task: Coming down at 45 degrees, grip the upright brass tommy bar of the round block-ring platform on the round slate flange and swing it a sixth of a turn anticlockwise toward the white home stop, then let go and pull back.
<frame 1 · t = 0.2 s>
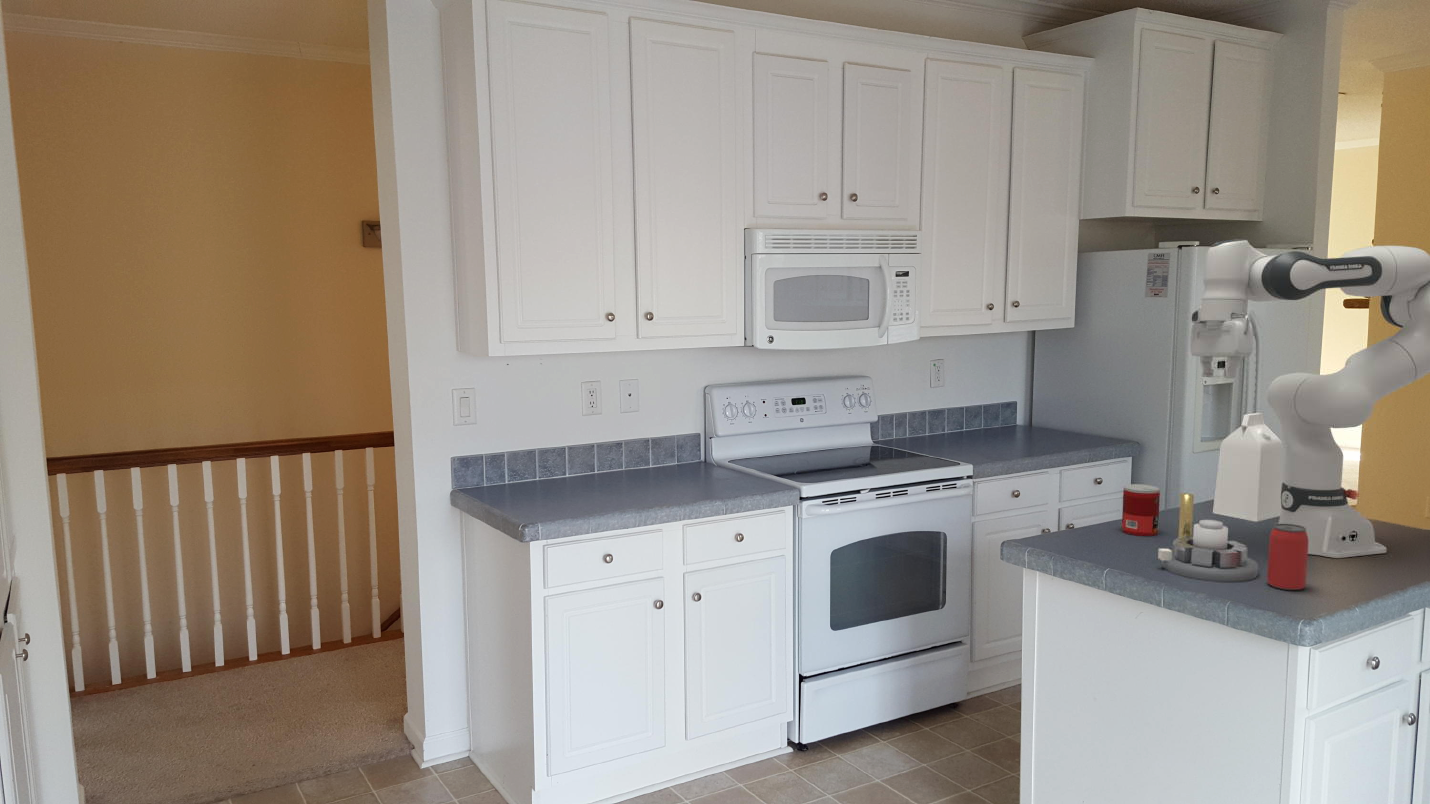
hand: (1218, 377, 218), 39 cm above the countertop, tool pointing down, fingers open, 8 cm apart
milk: (1247, 514, 258), on the countertop
flange base: (1208, 569, 209), on the countertop
round block-ring platform: (1205, 528, 210), point 8 cm above the countertop, hinge at 0.0°
beer can: (1286, 587, 197), on the countertop
canned food: (1139, 533, 240), on the countertop
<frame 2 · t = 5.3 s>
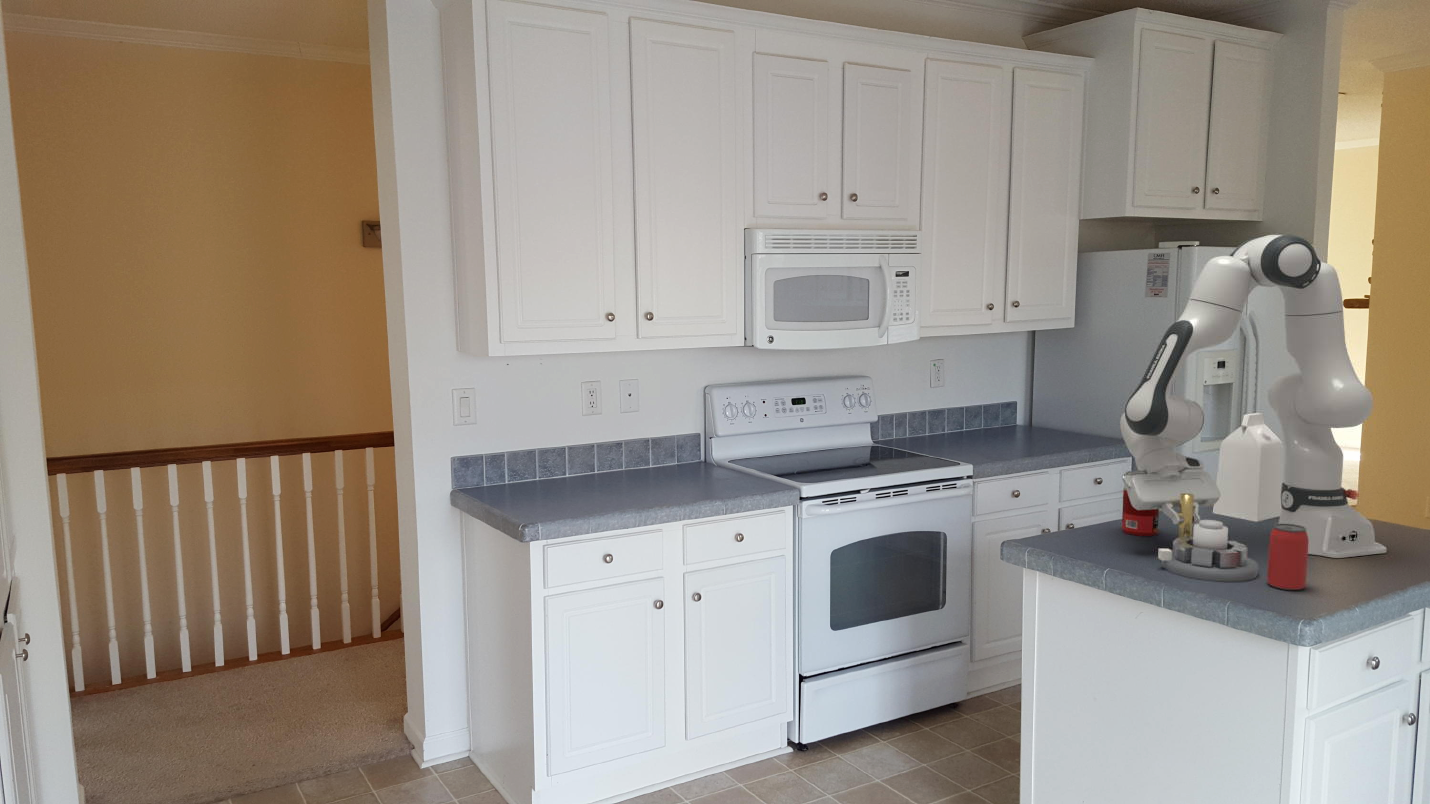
hand: (1187, 522, 217), 8 cm above the countertop, tool tilted 45°, fingers closed on round block-ring platform, 3 cm apart
round block-ring platform: (1205, 528, 210), point 8 cm above the countertop, hinge at 0.0°, touching gripper
everything else where it was.
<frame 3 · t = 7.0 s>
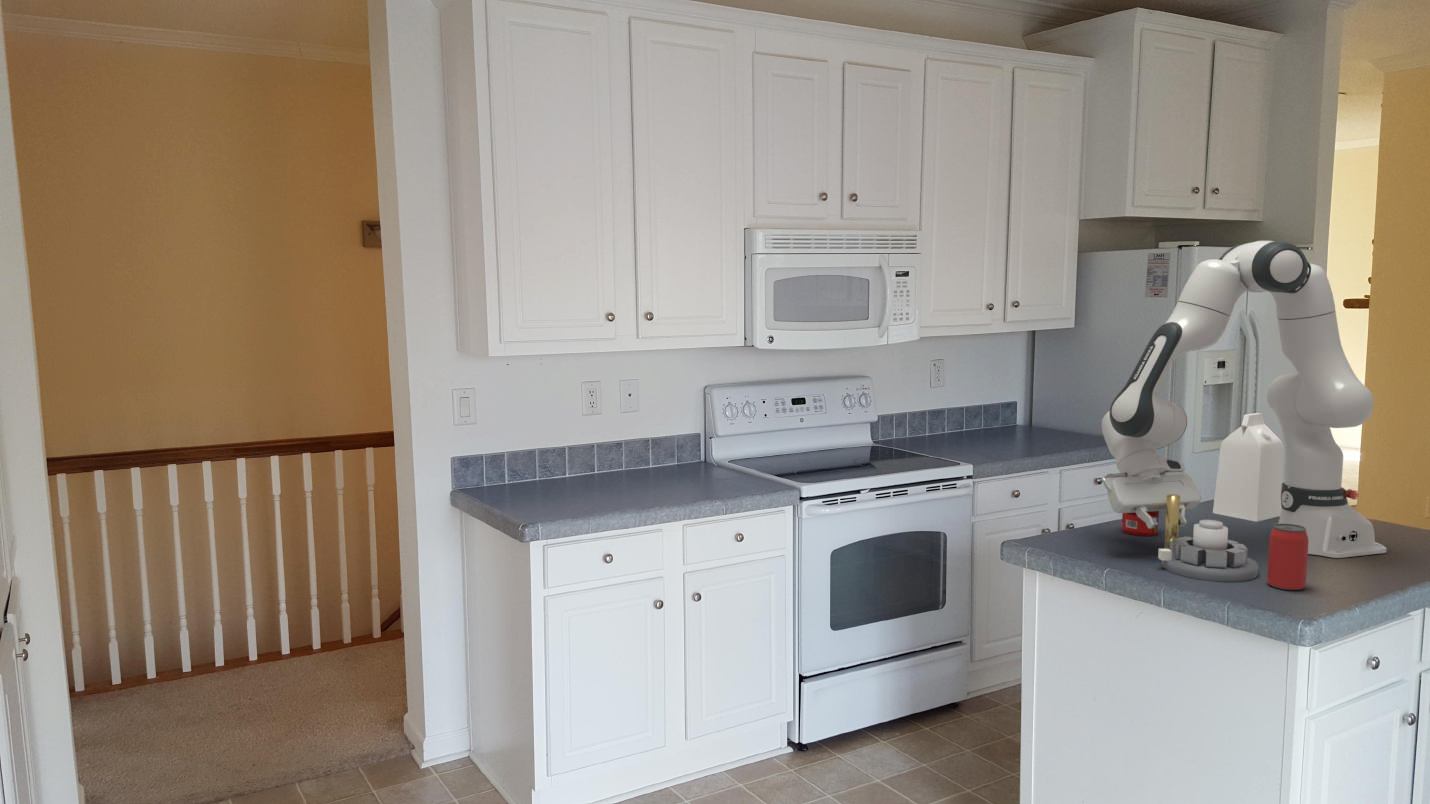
hand: (1168, 526, 215), 8 cm above the countertop, tool tilted 45°, fingers open, 5 cm apart
round block-ring platform: (1202, 529, 210), point 8 cm above the countertop, hinge at 23.5°, touching gripper
everything else where it was.
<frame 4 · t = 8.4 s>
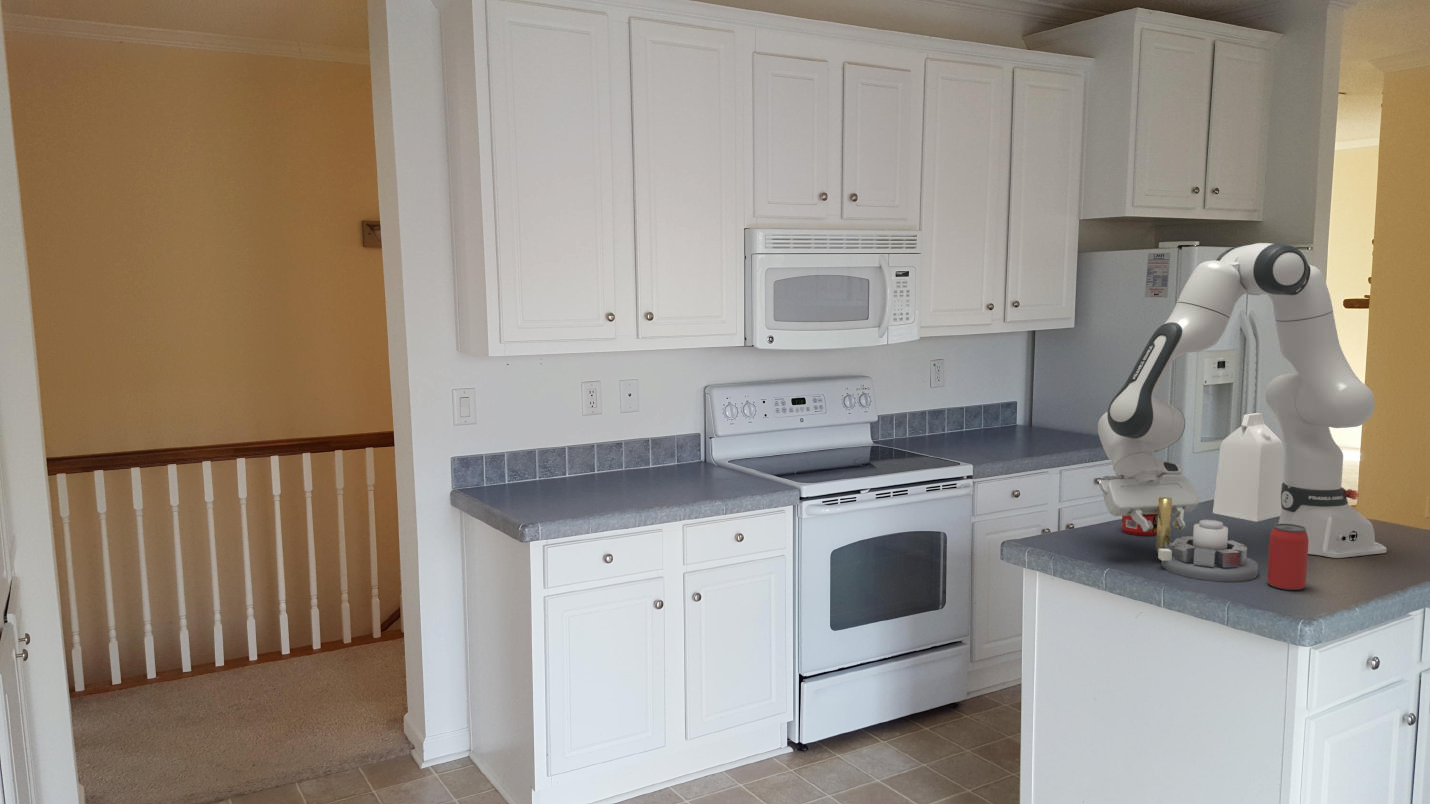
hand: (1165, 529, 211), 8 cm above the countertop, tool tilted 45°, fingers open, 6 cm apart
round block-ring platform: (1201, 529, 209), point 8 cm above the countertop, hinge at 49.2°
everything else where it was.
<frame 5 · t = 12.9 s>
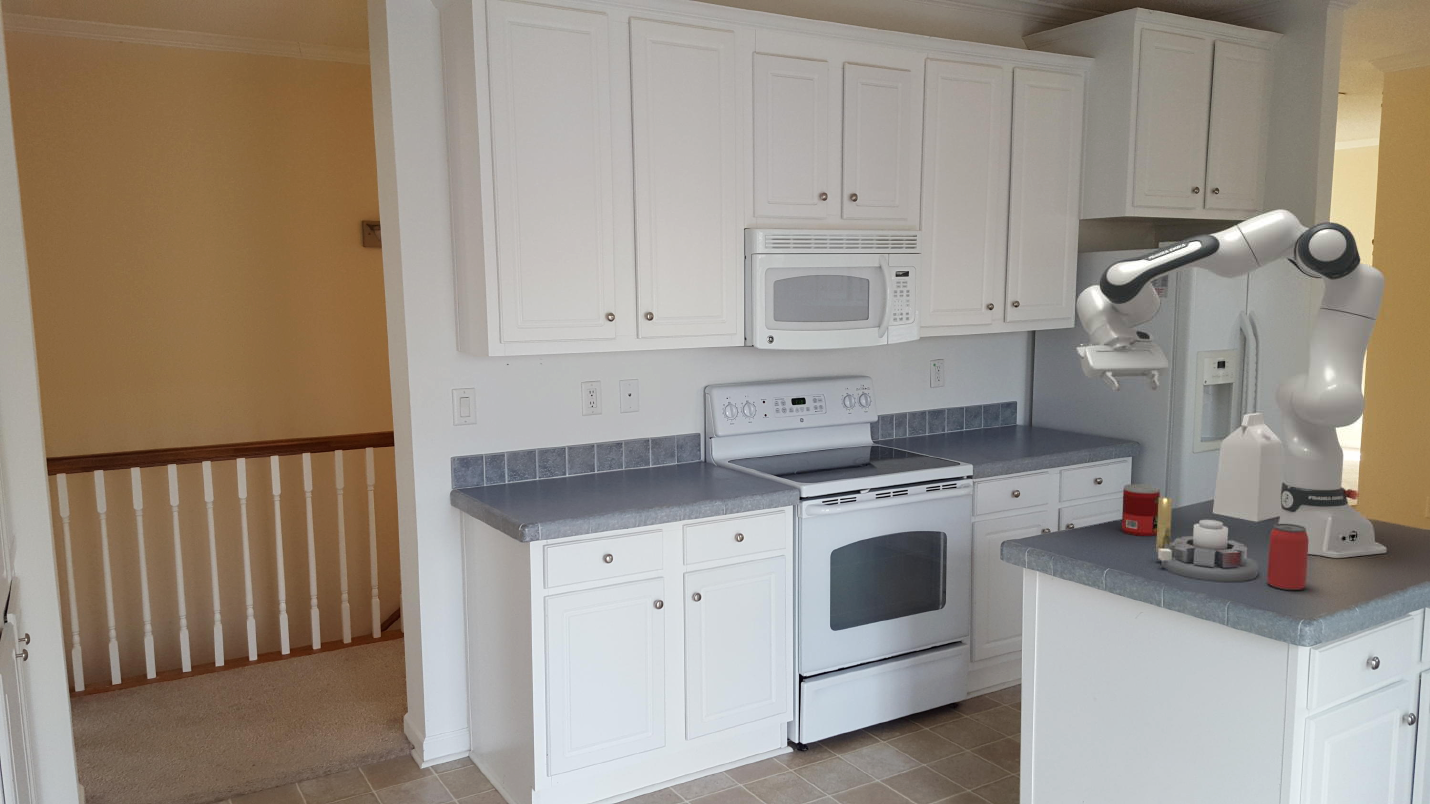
hand: (1136, 388, 229), 35 cm above the countertop, tool tilted 45°, fingers open, 8 cm apart
nothing on the countertop moved.
at the end: round block-ring platform at +49° (first picture: +0°); the gripper is holding nothing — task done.
